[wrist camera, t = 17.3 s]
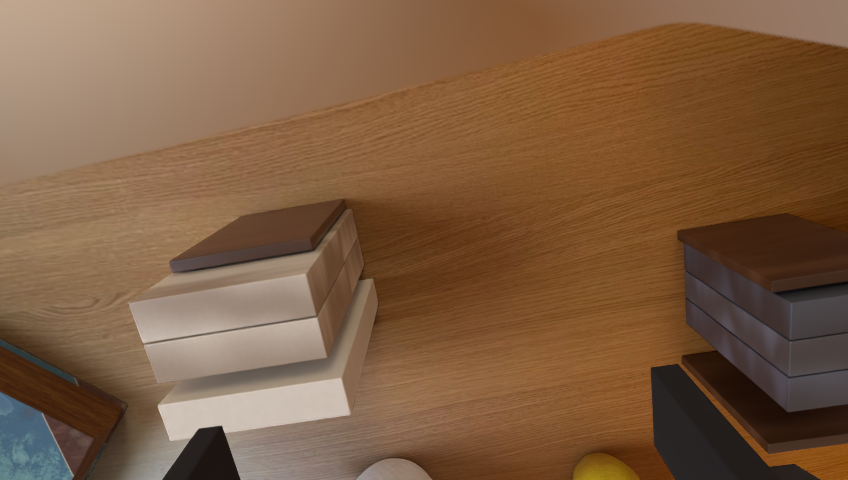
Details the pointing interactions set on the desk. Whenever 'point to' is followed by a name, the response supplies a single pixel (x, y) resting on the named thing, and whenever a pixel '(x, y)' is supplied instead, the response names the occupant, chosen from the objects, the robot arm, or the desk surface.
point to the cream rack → (253, 294)
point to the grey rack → (772, 326)
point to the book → (50, 420)
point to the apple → (602, 468)
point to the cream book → (279, 384)
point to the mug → (394, 471)
